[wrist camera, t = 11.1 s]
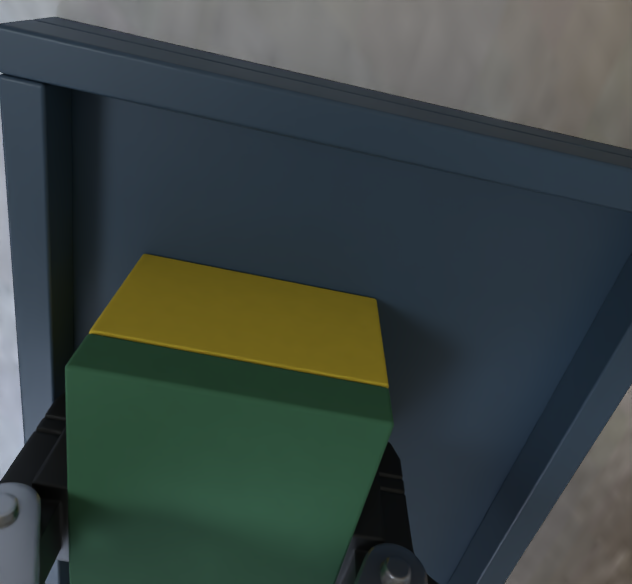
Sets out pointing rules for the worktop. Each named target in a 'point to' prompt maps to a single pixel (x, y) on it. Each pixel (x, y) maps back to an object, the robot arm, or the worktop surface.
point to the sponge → (222, 429)
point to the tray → (337, 252)
